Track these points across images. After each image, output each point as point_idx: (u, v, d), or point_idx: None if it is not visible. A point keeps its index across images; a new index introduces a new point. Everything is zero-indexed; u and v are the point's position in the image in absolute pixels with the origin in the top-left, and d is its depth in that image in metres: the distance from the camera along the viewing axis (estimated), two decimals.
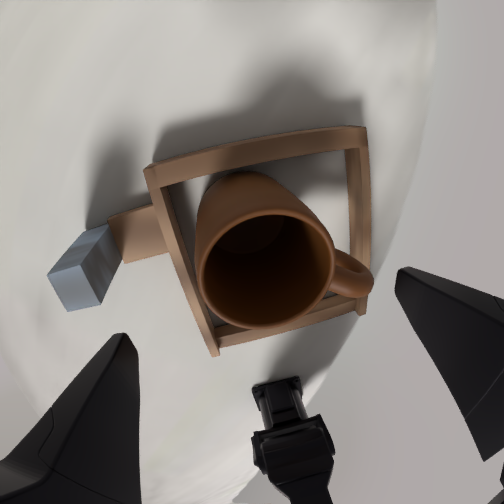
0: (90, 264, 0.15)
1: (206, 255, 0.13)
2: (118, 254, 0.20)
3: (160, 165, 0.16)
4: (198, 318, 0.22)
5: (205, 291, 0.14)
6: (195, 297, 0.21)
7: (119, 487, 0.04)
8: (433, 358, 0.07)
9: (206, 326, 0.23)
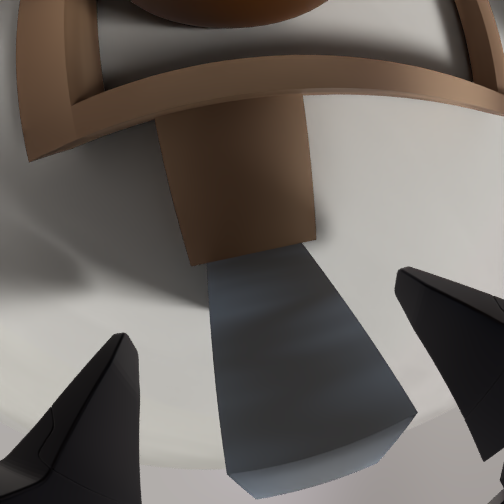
0: (257, 405, 0.04)
1: None
2: (286, 250, 0.08)
3: (22, 114, 0.04)
4: (476, 97, 0.05)
5: None
6: (435, 74, 0.05)
7: (119, 487, 0.04)
8: (433, 358, 0.07)
9: (489, 91, 0.05)
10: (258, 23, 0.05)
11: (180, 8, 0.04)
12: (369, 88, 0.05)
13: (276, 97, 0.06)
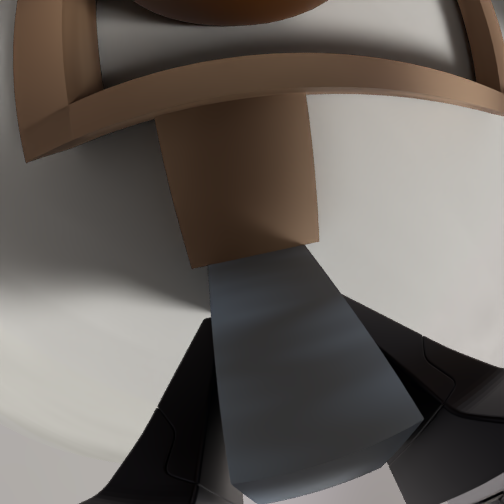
0: (260, 413, 0.04)
1: None
2: (289, 253, 0.08)
3: (18, 113, 0.04)
4: (481, 97, 0.05)
5: None
6: (440, 73, 0.05)
7: (233, 487, 0.04)
8: None
9: (493, 92, 0.05)
10: (260, 21, 0.05)
11: (180, 5, 0.04)
12: (374, 87, 0.05)
13: (279, 96, 0.06)
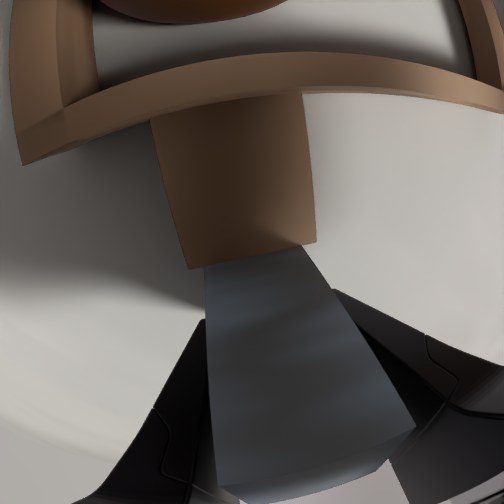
0: (250, 416, 0.04)
1: None
2: (285, 254, 0.08)
3: (15, 117, 0.04)
4: (481, 95, 0.05)
5: None
6: (439, 71, 0.05)
7: None
8: None
9: (494, 90, 0.05)
10: (238, 14, 0.05)
11: (154, 7, 0.04)
12: (370, 86, 0.05)
13: (274, 96, 0.06)
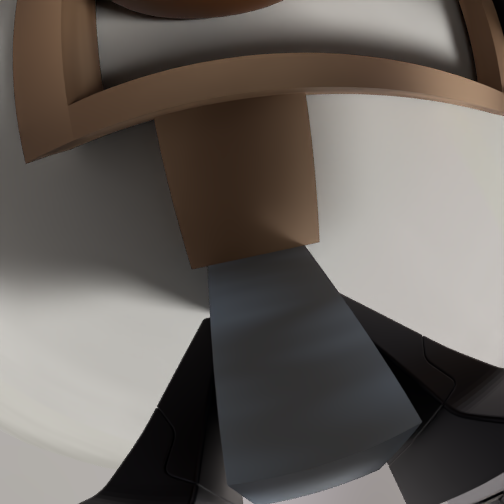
0: (258, 414, 0.04)
1: None
2: (289, 254, 0.08)
3: (18, 114, 0.04)
4: (482, 97, 0.05)
5: None
6: (441, 73, 0.05)
7: None
8: None
9: (494, 91, 0.05)
10: (248, 8, 0.05)
11: (166, 1, 0.04)
12: (374, 87, 0.05)
13: (278, 96, 0.06)
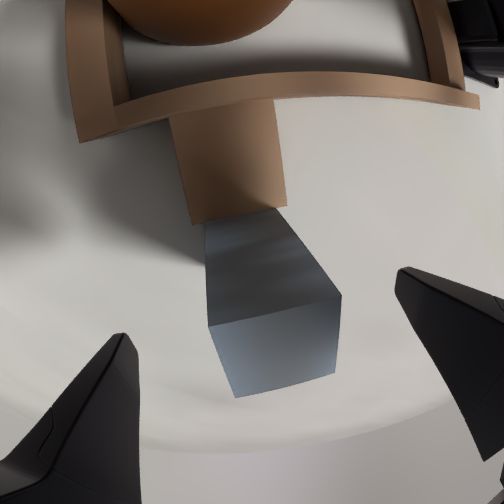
0: (231, 290, 0.07)
1: None
2: (263, 213, 0.11)
3: (74, 109, 0.07)
4: (417, 90, 0.08)
5: None
6: (374, 76, 0.08)
7: (119, 487, 0.04)
8: (433, 358, 0.07)
9: (432, 85, 0.08)
10: (233, 39, 0.08)
11: (177, 37, 0.07)
12: (316, 92, 0.08)
13: (254, 102, 0.09)
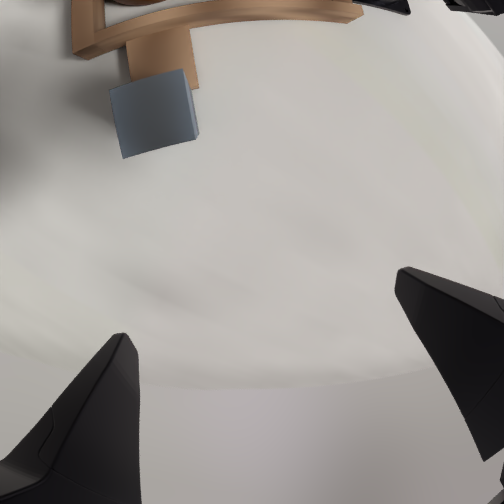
0: None
1: None
2: None
3: (72, 37, 0.09)
4: (288, 3, 0.10)
5: None
6: None
7: (119, 487, 0.04)
8: (433, 358, 0.07)
9: None
10: None
11: None
12: (207, 12, 0.10)
13: (176, 28, 0.12)
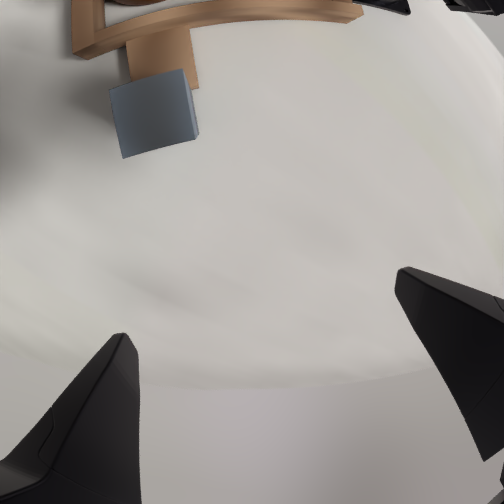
0: None
1: None
2: None
3: (72, 37, 0.09)
4: (288, 3, 0.10)
5: None
6: None
7: (119, 487, 0.04)
8: (433, 358, 0.07)
9: None
10: None
11: None
12: (207, 11, 0.10)
13: (176, 28, 0.12)
